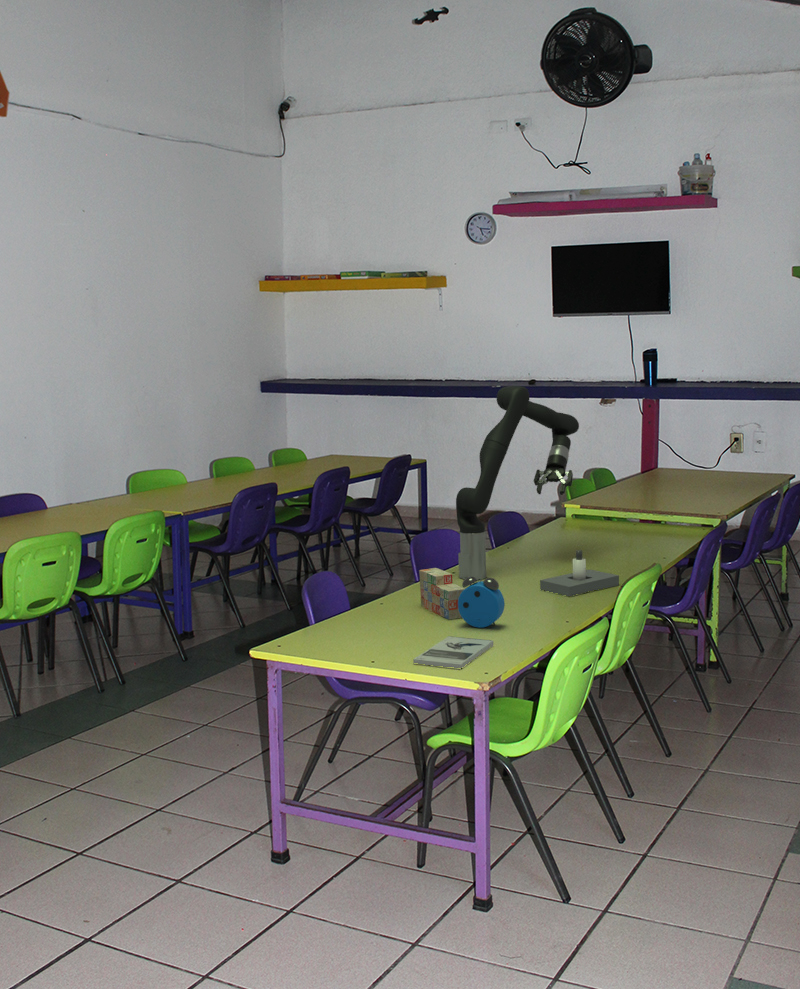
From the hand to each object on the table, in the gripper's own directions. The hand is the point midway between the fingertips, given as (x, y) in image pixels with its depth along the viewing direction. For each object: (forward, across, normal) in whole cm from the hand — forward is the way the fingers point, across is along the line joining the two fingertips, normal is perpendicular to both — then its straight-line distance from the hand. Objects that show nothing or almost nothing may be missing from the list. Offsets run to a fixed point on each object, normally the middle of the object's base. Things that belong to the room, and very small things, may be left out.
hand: (549, 493), depth 370 cm
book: (+100, +5, -59) cm, 116 cm away
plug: (+40, +18, +1) cm, 43 cm away
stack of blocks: (+70, -16, -29) cm, 77 cm away
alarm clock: (+79, +2, -38) cm, 88 cm away
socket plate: (+40, +18, +1) cm, 44 cm away
